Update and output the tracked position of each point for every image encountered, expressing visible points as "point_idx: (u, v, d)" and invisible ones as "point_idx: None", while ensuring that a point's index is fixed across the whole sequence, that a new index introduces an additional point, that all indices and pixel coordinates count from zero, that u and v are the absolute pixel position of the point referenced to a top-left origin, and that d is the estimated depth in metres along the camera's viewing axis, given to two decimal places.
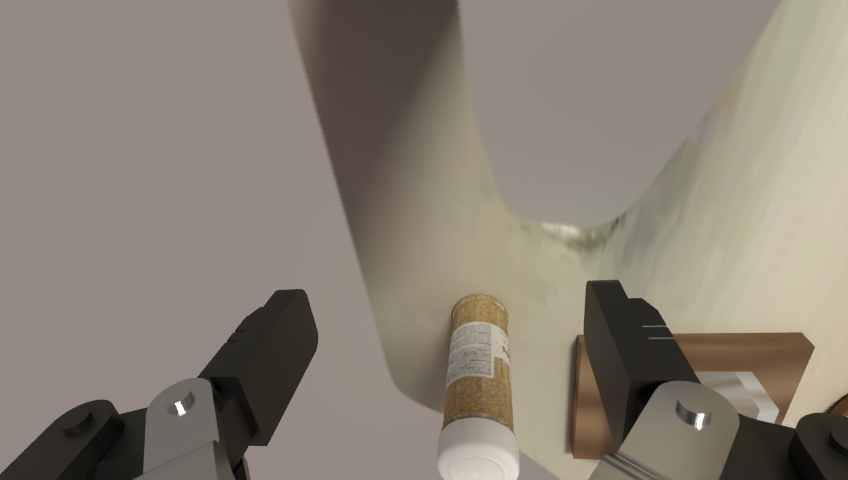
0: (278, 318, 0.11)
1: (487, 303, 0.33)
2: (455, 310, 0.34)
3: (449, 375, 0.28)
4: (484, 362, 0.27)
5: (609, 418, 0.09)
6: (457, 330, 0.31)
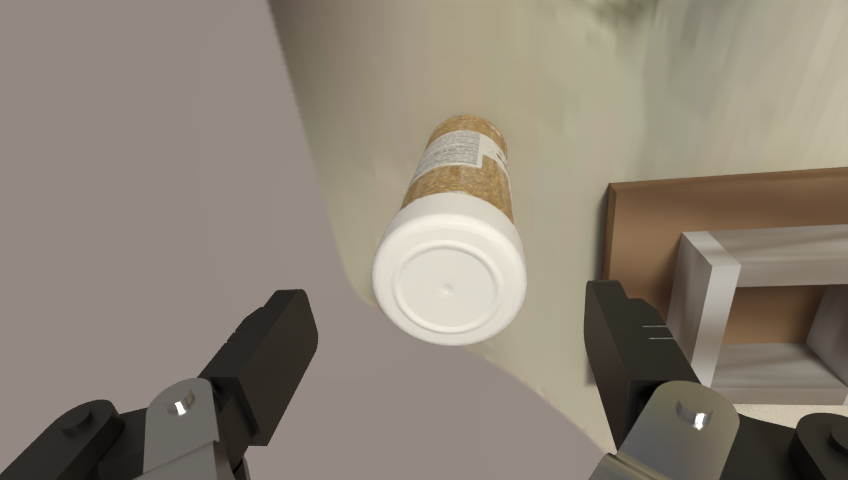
0: (278, 318, 0.11)
1: (475, 122, 0.22)
2: (429, 142, 0.23)
3: None
4: (467, 154, 0.16)
5: (609, 418, 0.09)
6: (428, 147, 0.20)
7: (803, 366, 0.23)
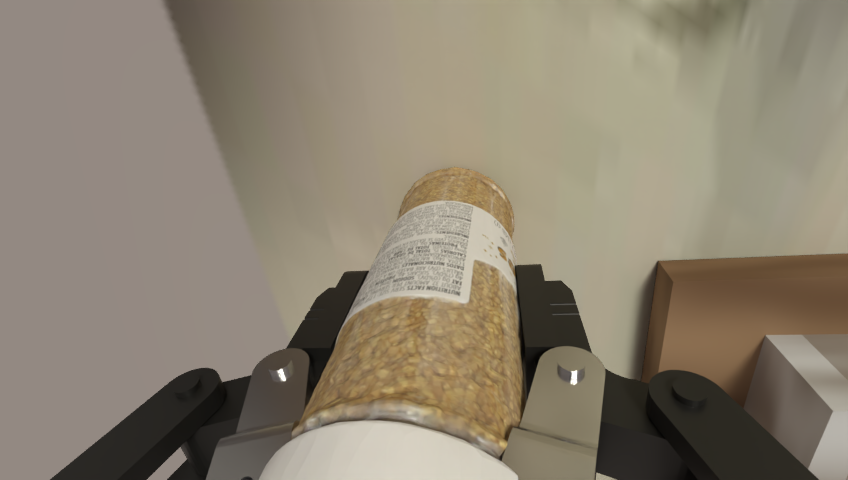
0: (354, 296, 0.11)
1: (468, 179, 0.15)
2: (403, 204, 0.16)
3: (350, 309, 0.10)
4: (445, 266, 0.09)
5: None
6: (395, 224, 0.13)
7: None
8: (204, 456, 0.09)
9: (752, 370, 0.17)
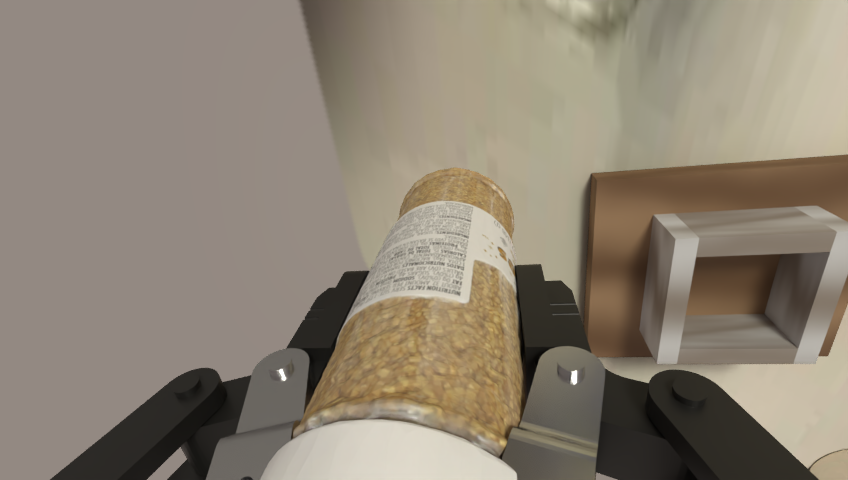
0: (354, 296, 0.11)
1: (468, 180, 0.15)
2: (403, 204, 0.16)
3: (351, 309, 0.10)
4: (446, 266, 0.09)
5: None
6: (395, 224, 0.13)
7: (760, 331, 0.27)
8: (204, 456, 0.09)
9: (648, 239, 0.27)
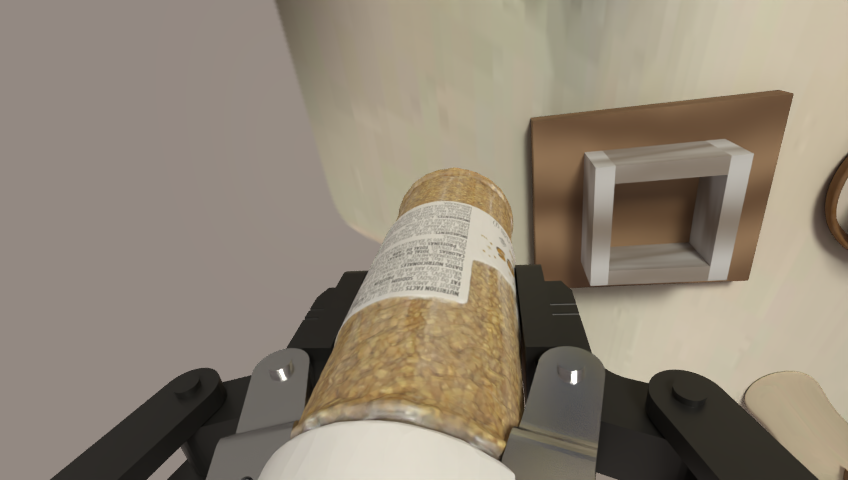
0: (354, 296, 0.11)
1: (467, 180, 0.15)
2: (402, 204, 0.16)
3: (349, 310, 0.10)
4: (444, 266, 0.09)
5: (523, 386, 0.10)
6: (394, 224, 0.13)
7: (681, 255, 0.31)
8: (204, 456, 0.09)
9: (582, 175, 0.31)
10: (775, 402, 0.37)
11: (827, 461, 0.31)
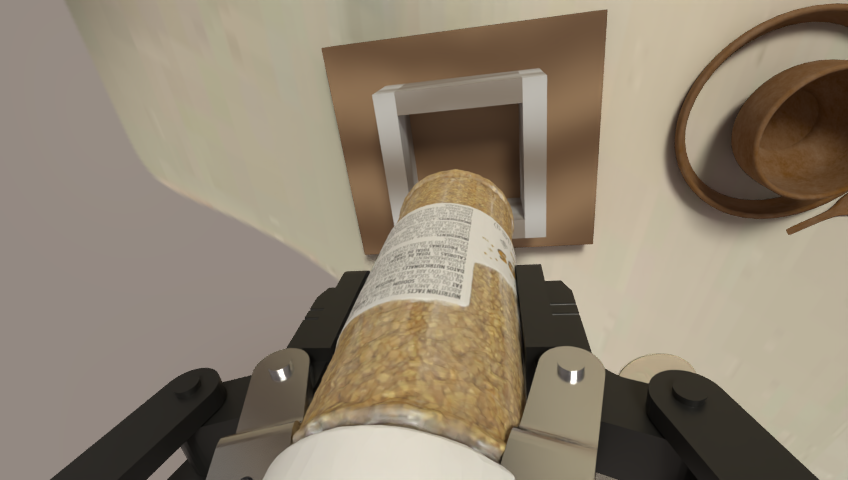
0: (354, 296, 0.11)
1: (468, 181, 0.15)
2: (403, 206, 0.16)
3: None
4: (446, 269, 0.09)
5: None
6: (395, 226, 0.13)
7: None
8: (204, 456, 0.09)
9: None
10: None
11: None
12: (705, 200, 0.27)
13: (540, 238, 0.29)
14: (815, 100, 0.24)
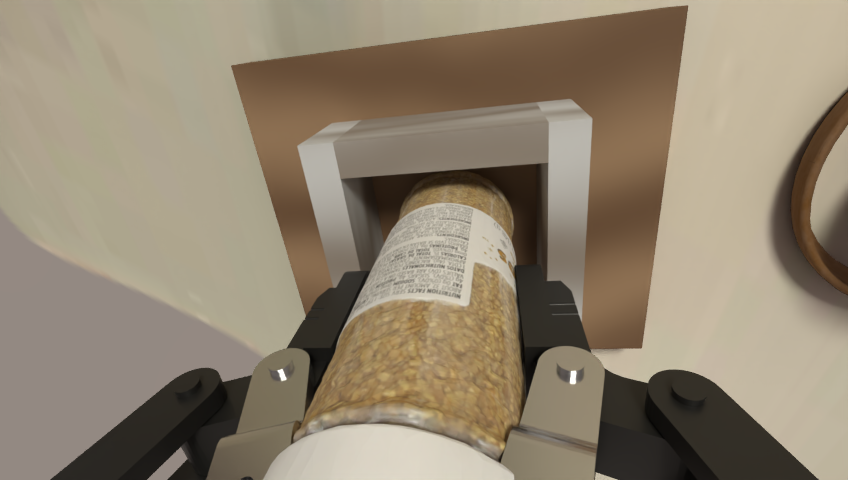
0: (354, 296, 0.11)
1: (468, 181, 0.15)
2: (403, 206, 0.16)
3: (351, 312, 0.10)
4: (446, 268, 0.10)
5: None
6: (395, 226, 0.13)
7: None
8: (204, 456, 0.09)
9: None
10: None
11: None
12: (830, 280, 0.17)
13: None
14: None
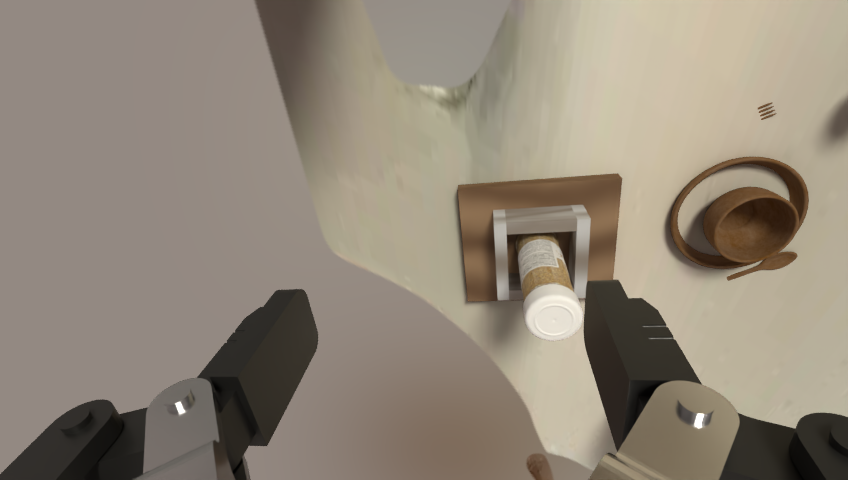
0: (278, 318, 0.11)
1: None
2: (518, 238, 0.45)
3: (524, 270, 0.39)
4: (550, 259, 0.38)
5: (609, 418, 0.09)
6: (524, 246, 0.42)
7: None
8: None
9: (492, 225, 0.45)
10: None
11: None
12: (685, 255, 0.44)
13: None
14: (751, 204, 0.42)
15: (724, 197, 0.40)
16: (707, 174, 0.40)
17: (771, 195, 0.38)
